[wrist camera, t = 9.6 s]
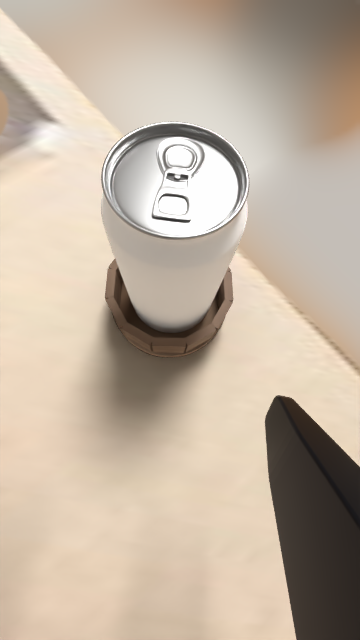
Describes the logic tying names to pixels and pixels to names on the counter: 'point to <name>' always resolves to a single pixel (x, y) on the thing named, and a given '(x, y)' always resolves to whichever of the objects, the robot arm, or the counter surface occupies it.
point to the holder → (162, 341)
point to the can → (173, 218)
